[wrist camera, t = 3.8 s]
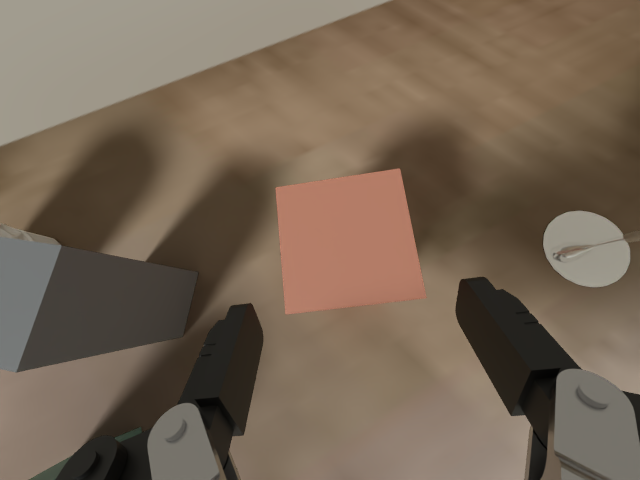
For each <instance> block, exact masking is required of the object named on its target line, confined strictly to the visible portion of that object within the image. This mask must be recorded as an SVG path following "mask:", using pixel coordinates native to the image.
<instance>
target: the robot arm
mask: <svg viewBox="0 0 640 480" xmlns="http://www.w3.org/2000/svg"><path fill="white" fill-rule="evenodd" d="M456 317H457V320H458V323H459V325H460V327H461V329H462V330H463V332H464V334H465V336H466V337H467V339H468V341H469V343H470V344H471V346H472V348H473V350H474V352H475V353H476V355H477V357H478V359H479V360H480V362H481V364H482V366H483V367H484V369H485V371H486V373H487V375H488V376H489V378H490V380H491V382H492V383H493V385H494V387H495V389H496V390H497V392H498V394H499V396H500V397H501V399H502V401H503V403H504V405H505V406H506V408H507V410H508V412H509V413H510V415H511V416H519V415H525V416H526V417H527V419H528V421H529V422H530V424H531V426H530V430H529V439H528V449H527V458H526V468H525V478H524V480H640V395H639V394H634V393H629V392H625V391H621V390H620V389H619V388H618V387H616V386H615V385H614V384H612V383H611V382H609V381H608V380H606V379H605V378H603V377H601V376H599V375H597V374H594V373H592V372H589V371H586V370H582V369H581V368H580V367H579V366H578V365H577V364H576V363H575V362H574V361H573V359H572V358H571V357H570V356H569V355H568V354H567V353H566V352H565V351H564V349H563V348H562V347H561V346H560V345H559V344H558V343H557V342H556V341H555V339H554V338H553V337H552V336H551V335H550V334H549V333H548V332H547V330H546V329H545V328H544V327H543V326H542V325H541V324H539V323H538V320H537V319H536V318H535V317H534V316H533V315H532V314H530V313H529V310H528V309H527V308H526V307H525V306H524V305H523V304H522V303H521V302H520V300H519V299H518V298H516V297H514V296H513V295H511V294H510V293H508V292H506V291H505V290H503V289H501V290H496V289H495V288H494V287H493V285H492V284H491V283H490V282H489V281H488V279H486V278H485V277H477V278H468V279H462V280H461V281H460V283H459V289H458V296H457V302H456ZM262 346H263V331H262V327H261V325H260V322H259V320H258V317H257V315H256V312H255V310H254V307H253V305H252V304H251V303H249V304H240V305H232V306H231V307H230V308H229V311H228V313H227V316H226V318H225V320H219V321H218V322H217V323H216V324H215V326H214V327H213V328H212V329H211V330H210V331H209V333H208V336H207V338H206V340H205V343H204V347H202V349H201V352H200V354H199V358H198V359H197V361H196V363H195V366H194V368H193V370H192V373H191V375H190V377H189V380H188V382H187V384H186V387H185V389H184V391H183V394H182V396H181V398H180V400H179V402H178V404H177V405H176V406H174V407H173V408H171V409H169V410H168V411H167V412H165V413H164V414H163V415H162V416H161V417H160V418H159V420H158V421H157V422H156V424H155V425H154V427H153V428H151V429H149V430H147V431H145V432H142V433H140V434H138V435H135V436H133V437H131V438H128V439H126V440H124V441H121V442H118V441H117V440H116V439H115V438H113V437H112V436H108V435H107V436H100V437H97V438H95V439H93V440H91V441H89V442H88V443H86V444H85V445H84V446H82V447H81V448H80V449H79V450H78V451H77V452H75V453H74V454H73V456H72V457H71V458H70V459H69V460H68V461H67V463H66V464H65V465H64V467H63V468H62V470H61V471H60V473H59V475H58V476H57V478H56V480H241V478H240V476H239V473H238V471H237V468H236V465H235V463H234V460H233V458H232V455H231V453H230V450H229V448H230V444H231V440H232V436H242V435H244V432H245V427H246V422H247V417H248V413H249V408H250V403H251V398H252V394H253V389H254V384H255V379H256V374H257V370H258V365H259V360H260V355H261V351H262Z"/></svg>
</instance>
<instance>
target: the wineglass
mask: <svg viewBox="0 0 640 480" xmlns="http://www.w3.org/2000/svg"><path fill="white" fill-rule="evenodd" d="M637 241H640V230H637V231H633V232H630V233H627V234H622V232H621V231H620V230H619V228H618V227H617V226H616V225H614V224H613V223H612V222H610V221H609V220H608V219H607V218H605V217H602V216H600V215H598V214H595V213H592V212H586V211H572V212H566V213H564V214H562V215H559V216H557V217H556V218H555V219H554V220H553V221H552V222H551V223H549V224H548V227H547V229H546V231H545V233H544V240H543V247H544V251H545V254H546V257H547V259H548V261H549V262H550V264H551V265H552V267H553V268H554V269H555V270H556V271H557V272H558V273H559V274H560V275H562V276H563V277H564V278H565V279H567V280H569V281H572V282H574V283H576V284H578V285H582V286H588V287H602V286H607V285H609V284H612V283H614V282H616V281H618V280H619V279H620V278H621V277H622V276H623V275H624V274H625V273H626V271H627V268H628V266H629V263H630V248H629V245H628V243H631V242H637Z"/></svg>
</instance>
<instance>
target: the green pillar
mask: <svg viewBox="0 0 640 480" xmlns="http://www.w3.org/2000/svg"><path fill="white" fill-rule="evenodd" d="M140 433H142V430H141V427H139V428H137V429H134V430H132V431H130V432H127V433H125V434H122V435H120V436H117V437H115V439H116V440H117V441H118V442H121V441H124V440H126V439H128V438H131V437H133V436H135V435H138V434H140ZM72 456H73V455H72ZM72 456H71V457H72ZM71 457H69V458H67V459H65V460H63V461H62V462H60V463H58V464H56V465H54V466H53V467H51V468H49V469H47V470H45V471H44V472H42V473H40V474H38V475H36V476H35V477H33V478H31V479H29V480H56V478H57V476H58V475H59V473H60V471H61V470H62V468H63V467H64V465H65V464H66V463H67V461H68V460H69V459H70V458H71Z"/></svg>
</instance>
